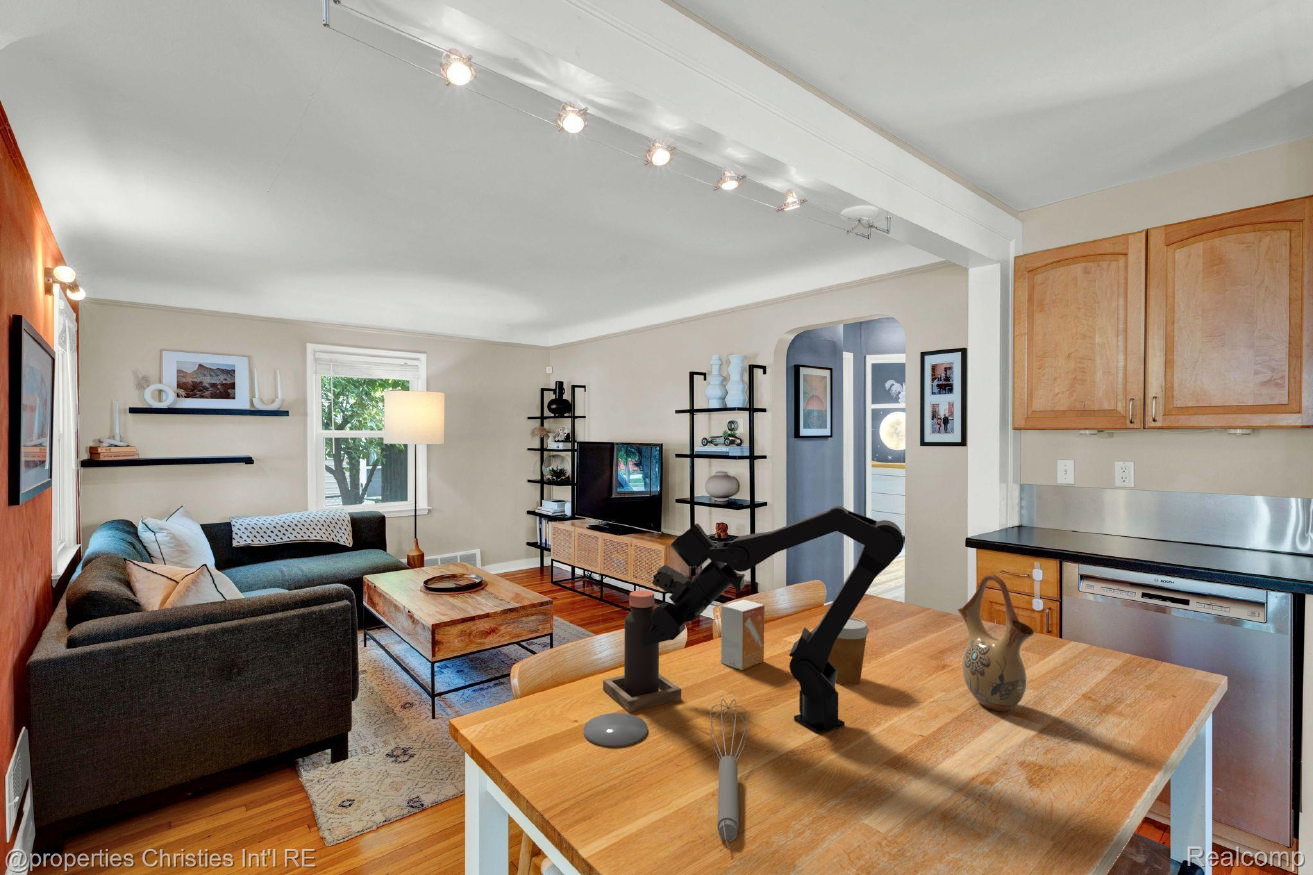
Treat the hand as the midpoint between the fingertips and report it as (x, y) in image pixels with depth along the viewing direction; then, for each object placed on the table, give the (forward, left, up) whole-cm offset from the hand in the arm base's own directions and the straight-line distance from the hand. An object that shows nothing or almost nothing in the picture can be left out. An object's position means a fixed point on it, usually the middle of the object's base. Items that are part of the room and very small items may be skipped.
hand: (651, 636), depth 122 cm
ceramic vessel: (-35, -55, -12) cm, 66 cm away
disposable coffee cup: (-12, -40, -12) cm, 43 cm away
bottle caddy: (+2, +1, -12) cm, 12 cm away
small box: (+6, -27, -12) cm, 30 cm away
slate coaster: (-9, +12, -12) cm, 19 cm away
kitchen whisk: (-30, +3, -12) cm, 33 cm away
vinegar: (+2, +1, -12) cm, 12 cm away
